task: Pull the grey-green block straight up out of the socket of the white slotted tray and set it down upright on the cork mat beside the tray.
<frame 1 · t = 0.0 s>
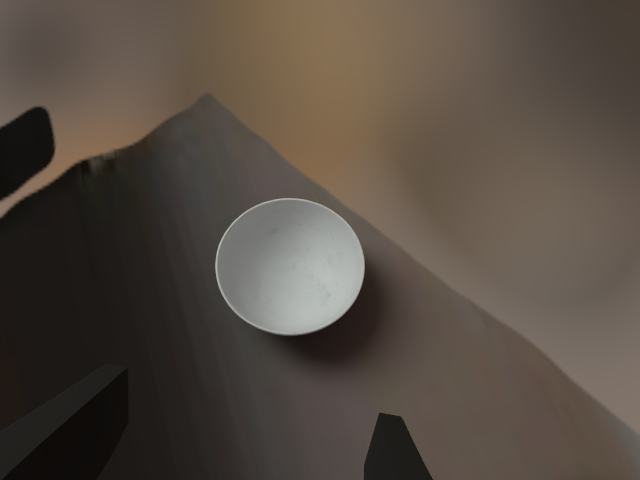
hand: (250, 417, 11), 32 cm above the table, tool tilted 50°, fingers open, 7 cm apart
chinaware: (289, 288, 48), on the table
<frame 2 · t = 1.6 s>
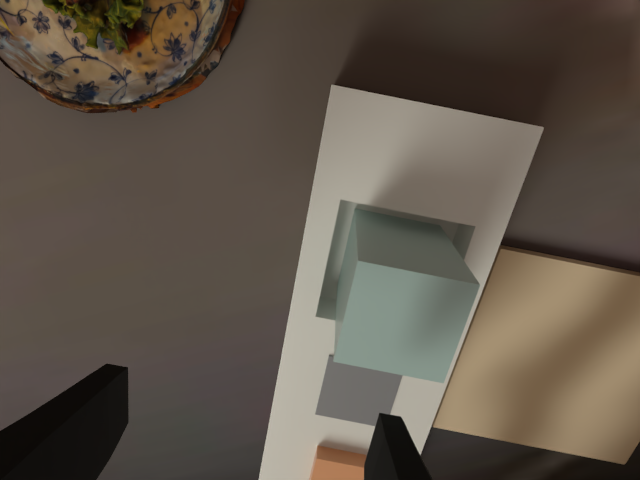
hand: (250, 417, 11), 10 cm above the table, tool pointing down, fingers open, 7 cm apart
white slotted tray: (367, 321, 21), on the table
cork mat: (563, 359, 21), on the table
grey-green block: (386, 256, 19), resting on white slotted tray
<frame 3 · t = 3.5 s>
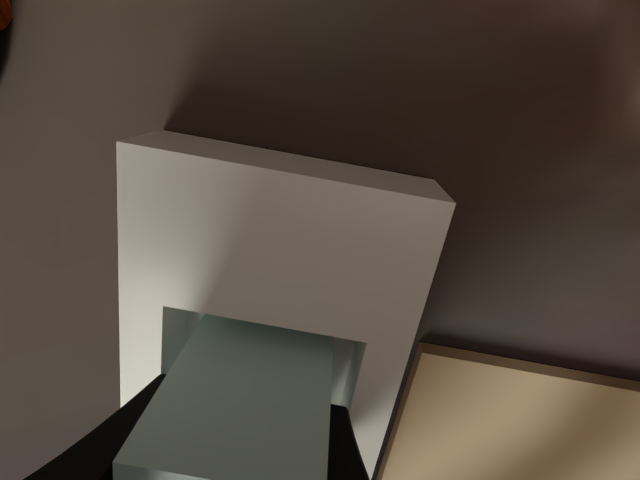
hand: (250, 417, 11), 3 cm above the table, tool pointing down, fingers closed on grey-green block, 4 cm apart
white slotted tray: (256, 435, 16), on the table
grey-green block: (266, 360, 14), resting on white slotted tray, touching gripper
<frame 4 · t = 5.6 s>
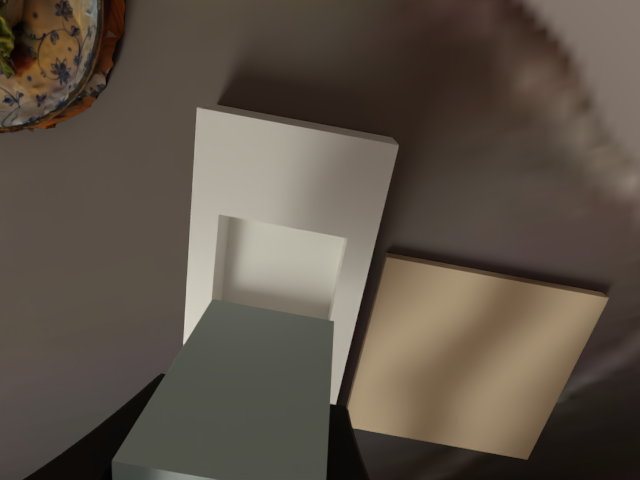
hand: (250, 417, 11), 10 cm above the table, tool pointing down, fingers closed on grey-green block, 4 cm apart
white slotted tray: (272, 326, 22), on the table
cork mat: (460, 360, 22), on the table
grey-green block: (265, 360, 14), point 7 cm above the table, touching gripper
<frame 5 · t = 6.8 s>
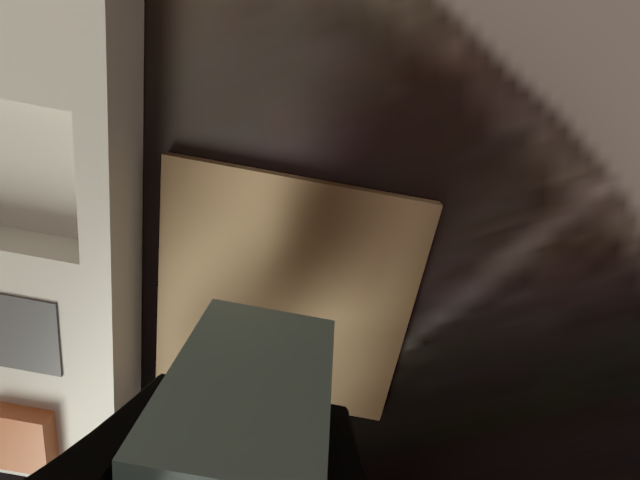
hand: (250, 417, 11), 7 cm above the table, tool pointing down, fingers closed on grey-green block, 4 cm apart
white slotted tray: (53, 254, 18), on the table
cork mat: (285, 296, 18), on the table
grey-green block: (266, 359, 14), point 5 cm above the table, touching gripper
when the fingers open (5 cm above the table, at t = 7.6 s): grey-green block drops 2 cm, resting on cork mat.
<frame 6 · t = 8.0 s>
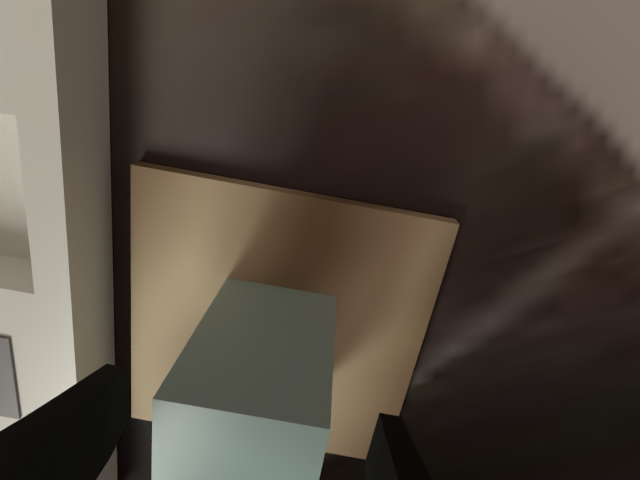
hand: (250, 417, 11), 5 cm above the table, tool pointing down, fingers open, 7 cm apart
white slotted tray: (12, 277, 16), on the table
cork mat: (276, 324, 16), on the table
grey-green block: (275, 333, 15), point 1 cm above the table, touching cork mat
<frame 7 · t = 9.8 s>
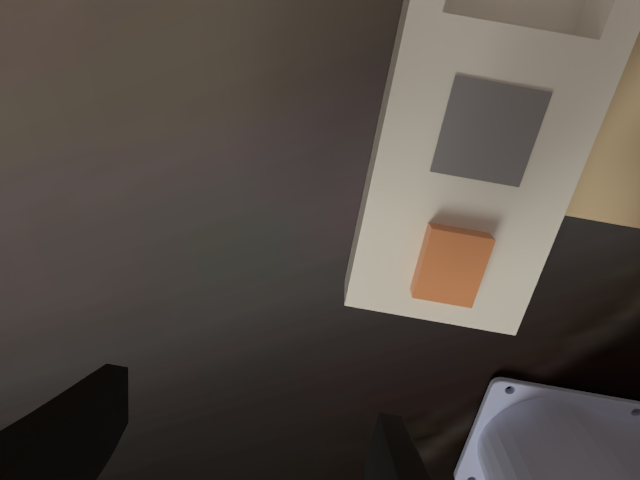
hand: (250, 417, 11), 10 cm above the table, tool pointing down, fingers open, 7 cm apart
white slotted tray: (487, 66, 17), on the table
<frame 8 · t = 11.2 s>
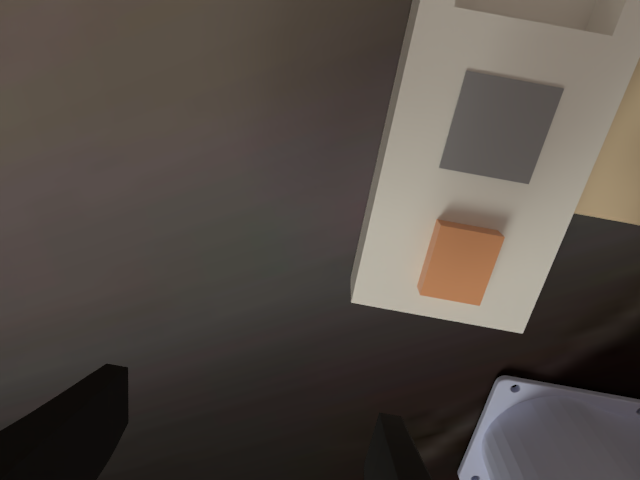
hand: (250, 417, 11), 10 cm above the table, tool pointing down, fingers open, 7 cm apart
white slotted tray: (496, 62, 17), on the table
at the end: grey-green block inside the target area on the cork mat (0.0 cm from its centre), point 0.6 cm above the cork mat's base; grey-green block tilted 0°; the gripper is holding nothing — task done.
